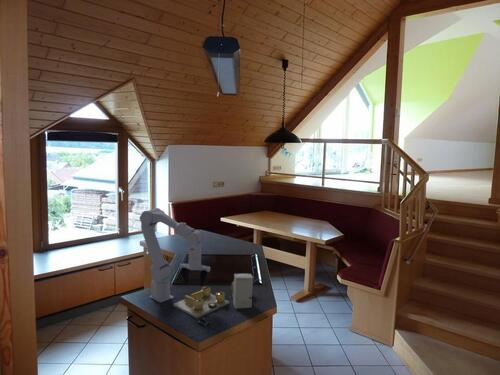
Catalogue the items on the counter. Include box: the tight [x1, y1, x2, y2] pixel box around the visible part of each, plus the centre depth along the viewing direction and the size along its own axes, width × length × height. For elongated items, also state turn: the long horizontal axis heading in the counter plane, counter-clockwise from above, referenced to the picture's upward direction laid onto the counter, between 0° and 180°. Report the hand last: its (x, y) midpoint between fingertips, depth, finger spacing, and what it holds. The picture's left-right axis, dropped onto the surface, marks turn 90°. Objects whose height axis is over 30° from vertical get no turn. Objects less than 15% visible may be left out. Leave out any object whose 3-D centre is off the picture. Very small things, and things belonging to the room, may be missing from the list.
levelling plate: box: [172, 291, 230, 319], centre depth 168 cm, size 17×20×6 cm
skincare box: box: [232, 273, 254, 310], centre depth 168 cm, size 8×6×15 cm
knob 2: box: [183, 294, 203, 310], centre depth 164 cm, size 11×4×4 cm, turn 49°
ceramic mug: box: [230, 280, 234, 298], centre depth 178 cm, size 11×8×8 cm
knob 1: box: [190, 286, 211, 299], centre depth 173 cm, size 11×4×4 cm, turn 139°
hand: (194, 284), depth 167 cm, fingers open, 7 cm apart
